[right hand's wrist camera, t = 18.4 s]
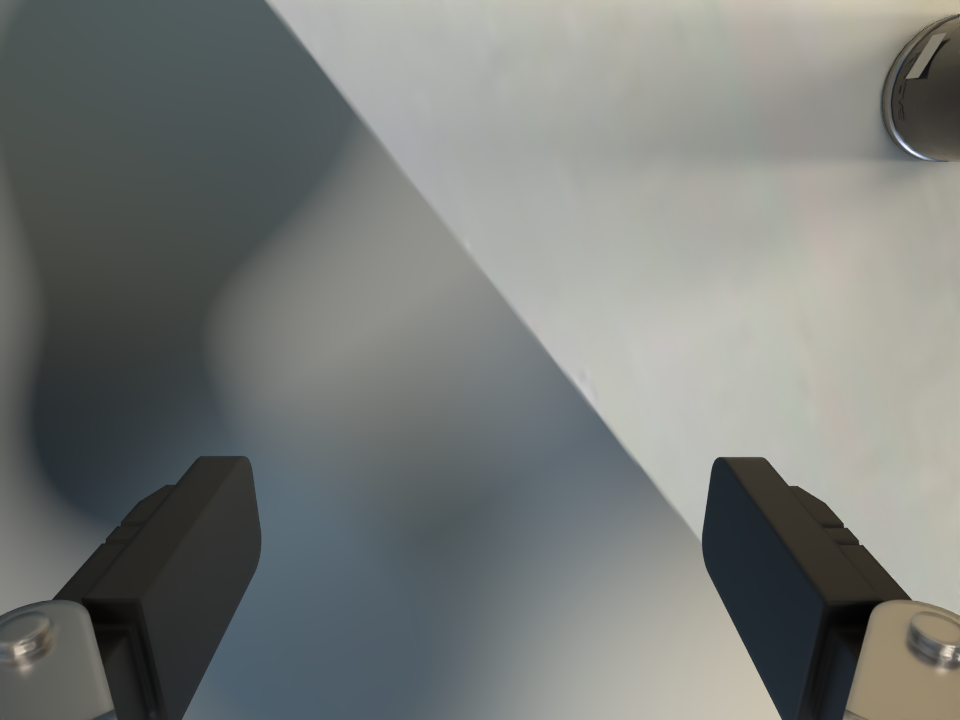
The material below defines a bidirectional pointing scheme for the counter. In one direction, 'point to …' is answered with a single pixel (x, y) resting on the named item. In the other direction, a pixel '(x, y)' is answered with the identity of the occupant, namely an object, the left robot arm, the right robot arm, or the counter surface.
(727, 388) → the counter surface
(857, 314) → the counter surface
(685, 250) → the counter surface
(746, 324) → the counter surface
